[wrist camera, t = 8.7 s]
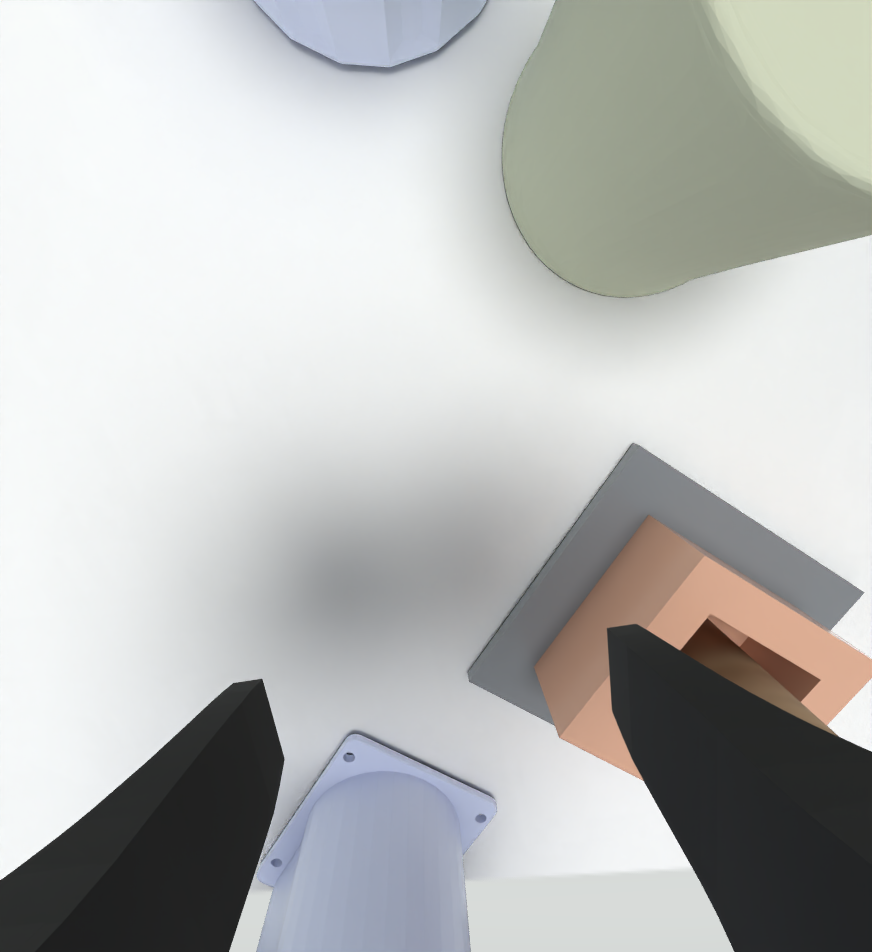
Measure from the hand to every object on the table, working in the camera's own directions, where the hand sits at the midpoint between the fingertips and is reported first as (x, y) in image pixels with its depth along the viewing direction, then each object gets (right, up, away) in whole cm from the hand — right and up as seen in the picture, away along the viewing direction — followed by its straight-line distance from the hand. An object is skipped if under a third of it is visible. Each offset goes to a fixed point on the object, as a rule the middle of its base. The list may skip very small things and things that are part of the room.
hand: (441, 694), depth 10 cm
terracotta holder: (+10, -2, +11) cm, 15 cm away
